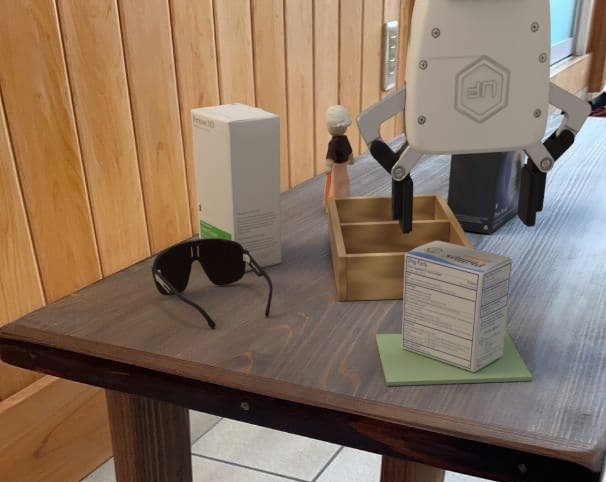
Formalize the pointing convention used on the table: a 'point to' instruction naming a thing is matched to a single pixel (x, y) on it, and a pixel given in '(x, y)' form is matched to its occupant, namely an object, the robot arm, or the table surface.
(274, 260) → the cosmetic box
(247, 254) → the sunglasses
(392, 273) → the organizer
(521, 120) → the robot arm
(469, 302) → the medicine box
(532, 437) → the table surface
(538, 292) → the table surface
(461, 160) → the small box
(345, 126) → the grandmother figurine
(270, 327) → the table surface
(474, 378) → the pad
